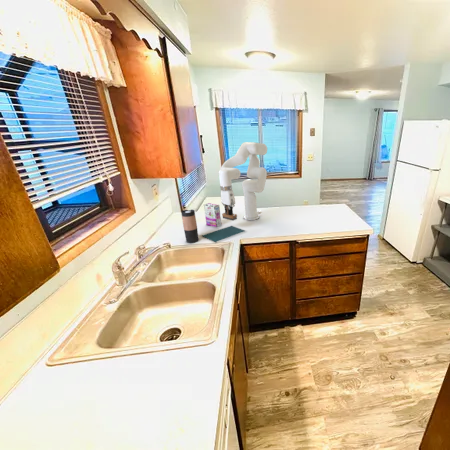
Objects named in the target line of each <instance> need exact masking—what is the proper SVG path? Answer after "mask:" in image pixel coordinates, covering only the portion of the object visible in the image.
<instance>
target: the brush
mask: <svg viewBox="0 0 450 450" xmlns="http://www.w3.org/2000/svg"><path fill="white" fill-rule="evenodd" d="M226 209H227V214H225V212H223V213H221V217H222V219H224V220H229V221H236V220H237V219H238V215H237V213H233V214H231V215H229V213H228V209H229V208H228V205H227V206H226Z"/></svg>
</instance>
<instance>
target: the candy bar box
mask: <svg viewBox="0 0 450 450" xmlns="http://www.w3.org/2000/svg"><path fill="white" fill-rule="evenodd" d="M203 208H204V209H203V210H204V216H205V223H206V224H205V225H206V226H209V227H214V228H218V227H221V226H222V218H221V217H222V216H221V209H220V204H217V203H212V202H211V203H210V202H208V203H204V204H203Z"/></svg>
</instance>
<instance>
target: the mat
mask: <svg viewBox="0 0 450 450" xmlns="http://www.w3.org/2000/svg"><path fill="white" fill-rule="evenodd" d="M245 231H246V230H244V229H242V228H239V227H236V226H234V225H230V226H227V227H224V228H221V229H218V230H215V231H212V232H209V233H205V234H203V235H201V236H202V237H203V238H205V239H207V240H210V241H211V242H214V243H218V242H219V241H220V242H221V241H222V240H224V239H228V238H230V237H233V236H236V235H238V234H241V233H244V232H245Z"/></svg>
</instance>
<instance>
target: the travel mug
mask: <svg viewBox="0 0 450 450" xmlns="http://www.w3.org/2000/svg"><path fill="white" fill-rule="evenodd" d="M180 213H181V220H182V225H183V226H182V227H183V231H184V236H185V237H184V238H185V241H186V243H188V244H194V243H197V242H198V241H199V233H198V232H199V231H198V225H197V219H196V211H195V209H190V210H189V209H183V210H181V211H180Z"/></svg>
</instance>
